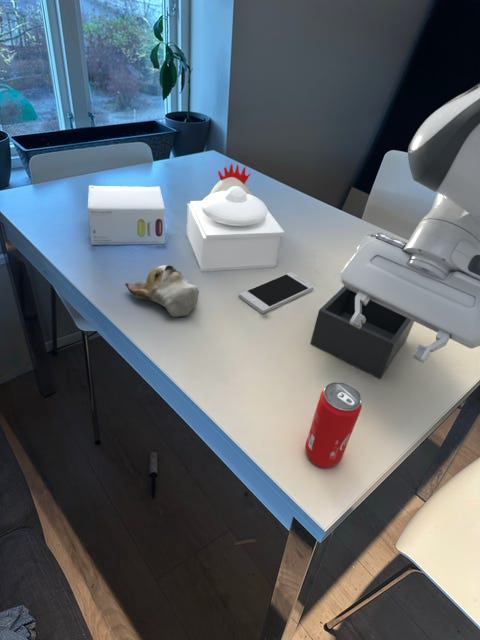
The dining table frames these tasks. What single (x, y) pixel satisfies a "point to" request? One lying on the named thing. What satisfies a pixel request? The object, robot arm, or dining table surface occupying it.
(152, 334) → the dining table surface
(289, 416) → the dining table surface
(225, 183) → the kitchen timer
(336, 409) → the beverage can
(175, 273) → the ceramic sculpture
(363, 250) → the robot arm
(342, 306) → the bin
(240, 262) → the butter dish
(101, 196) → the supplement box
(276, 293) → the smartphone
